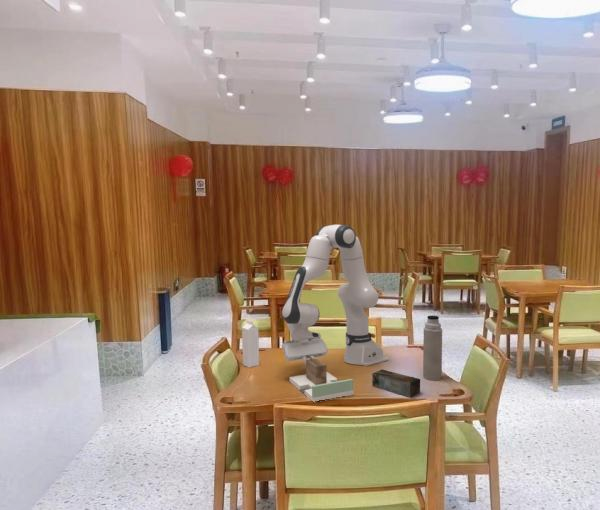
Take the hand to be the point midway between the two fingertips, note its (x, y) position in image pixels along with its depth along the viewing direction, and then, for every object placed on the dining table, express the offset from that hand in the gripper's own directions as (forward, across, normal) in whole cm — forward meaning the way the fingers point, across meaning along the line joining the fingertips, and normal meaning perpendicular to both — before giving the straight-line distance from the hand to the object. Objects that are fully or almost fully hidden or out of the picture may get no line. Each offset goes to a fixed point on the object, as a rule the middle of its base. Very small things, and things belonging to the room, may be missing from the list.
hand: (310, 366), depth 197 cm
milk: (-18, -18, +28) cm, 37 cm away
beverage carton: (+22, +28, -12) cm, 38 cm away
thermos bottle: (+19, +51, -9) cm, 55 cm away
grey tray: (+11, 0, -2) cm, 11 cm away
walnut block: (+7, 0, -1) cm, 7 cm away
